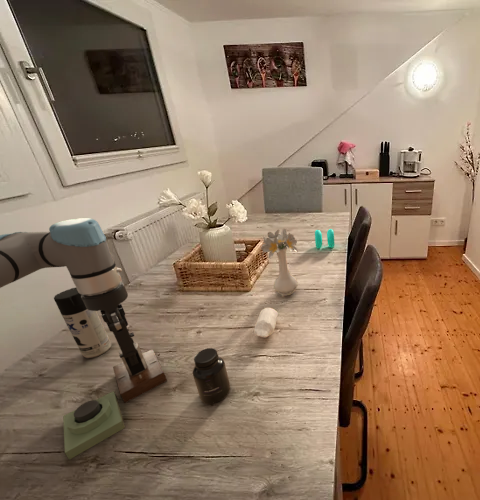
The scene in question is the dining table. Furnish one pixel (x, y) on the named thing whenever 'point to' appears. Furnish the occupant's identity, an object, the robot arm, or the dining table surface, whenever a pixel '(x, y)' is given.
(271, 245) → the flower vase
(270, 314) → the roll
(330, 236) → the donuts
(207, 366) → the supplement bottle
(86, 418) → the button
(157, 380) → the dial panel
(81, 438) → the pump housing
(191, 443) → the dining table surface
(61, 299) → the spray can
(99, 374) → the dining table surface
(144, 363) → the dial knob
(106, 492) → the dining table surface
